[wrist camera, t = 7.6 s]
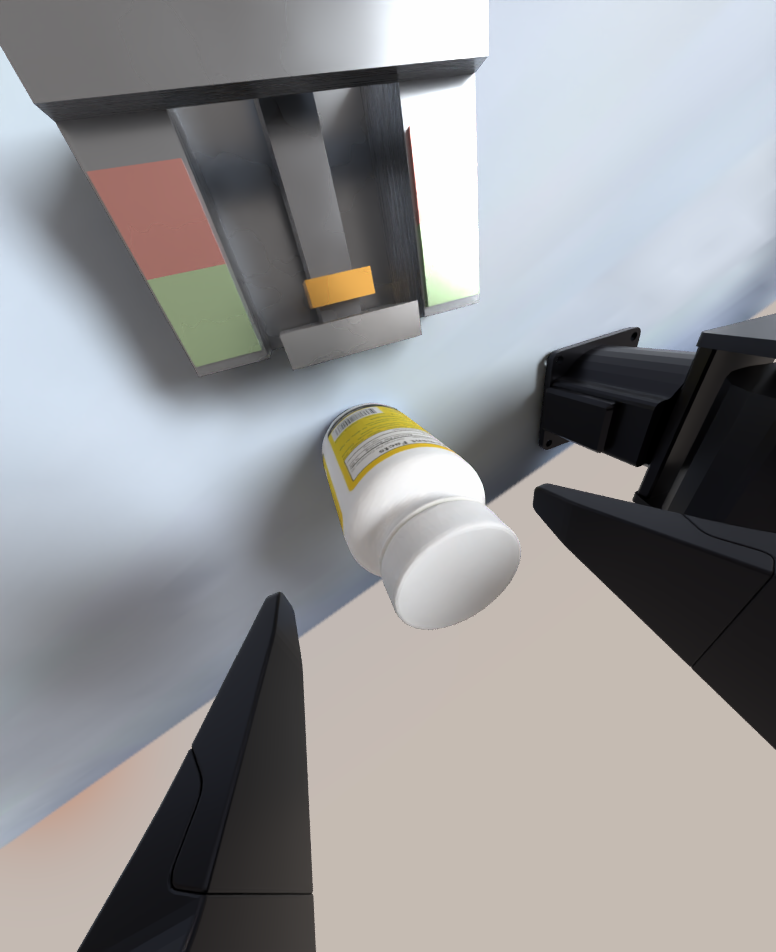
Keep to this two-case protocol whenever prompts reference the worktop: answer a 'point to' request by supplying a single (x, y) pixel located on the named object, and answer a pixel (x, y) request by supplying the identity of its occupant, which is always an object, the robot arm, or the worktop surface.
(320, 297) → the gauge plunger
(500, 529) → the supplement bottle
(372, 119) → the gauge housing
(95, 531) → the worktop surface
